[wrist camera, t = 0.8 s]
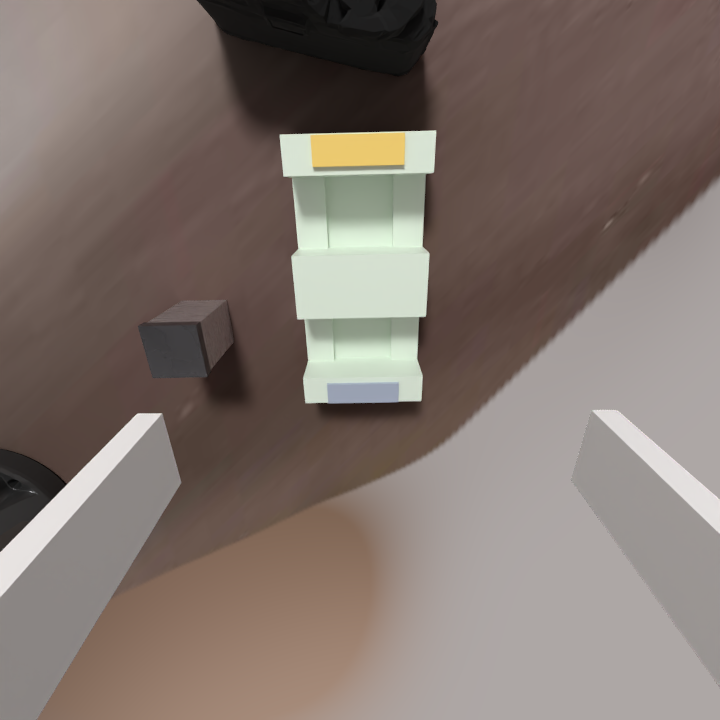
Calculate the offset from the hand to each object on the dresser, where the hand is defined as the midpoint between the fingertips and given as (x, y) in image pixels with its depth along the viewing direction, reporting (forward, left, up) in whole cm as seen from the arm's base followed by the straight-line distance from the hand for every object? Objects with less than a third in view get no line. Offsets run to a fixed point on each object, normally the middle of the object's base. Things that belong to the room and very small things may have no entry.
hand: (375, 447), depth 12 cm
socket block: (0, +1, -23) cm, 23 cm away
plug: (-14, -3, -23) cm, 27 cm away
